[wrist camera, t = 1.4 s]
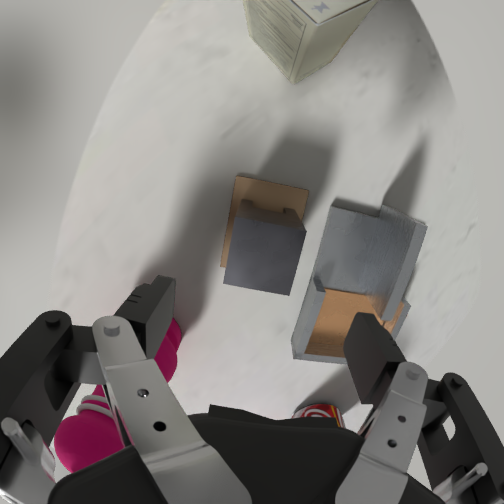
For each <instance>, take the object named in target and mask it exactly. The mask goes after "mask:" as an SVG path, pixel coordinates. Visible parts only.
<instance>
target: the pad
mask: <svg viewBox="0 0 504 504" xmlns="http://www.w3.org/2000/svg"><path fill="white" fill-rule="evenodd" d="M308 193H309V191H308V190H304V189H300V188H295V187H291V186H286V185H281V184H277V183H272V182H267V181H262V180H257V179H252V178H247V177H242V176H236V180H235V185H234V190H233V196H232V201H231V207H230V212H229V218H228V224H227V229H226V235H225V241H224V247H223V252H222V258H221V264H220V267H225V268H226V264H227V259H228V253H229V247H230V242H231V236H232V231H233V225H234V220H235V216H236V213H237V210H238V208H239V205H240V203H241V200H242V199H246V200H251V201H253V203H252V207H256V208H261V209H266V210H271V211H276V212H281V213H283V210H284V207H285V208H290V209H295V211H296V213H297V214H298V216H299V218H300V220H301V222H302V218H303V214H304V210H305V206H306V201H307V197H308Z"/></svg>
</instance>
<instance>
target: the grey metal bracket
mask: <svg viewBox="0 0 504 504" xmlns="http://www.w3.org/2000/svg"><path fill="white" fill-rule="evenodd" d="M427 227H428V226H426V225H424V224H422V223H420V222H419V221H417V220H415V219H413V218H411V217H409V216H407V215H406V214H404V213H402V212H400V211H398V210H396V209H394V208H392V207H389V206H385V205H382V207H381V211H380V215H379V218H378V217H374V216H370V215H366V214H363V213H359V212H355V211H351V210H347V209H343V208H339V207H335V206H330V210H329V214H328V218H327V222H326V226H325V229H324V233H323V237H322V240H321V244H320V248H319V251H318V255H317V258H316V262H315V265H314V268H313V272H312V275H311V279H310V282H309V285H308V288H307V292H306V295H305V298H304V301H303V305H302V308H301V311H300V314H299V317H298V320H297V323H296V326H295V329H294V332H293V335H292V338H291V345H292V352H293V359H299V360H307V361H317V362H326V363H337V364H347V361H346V358H345V355H344V352H343V344H344V340H345V338H346V335H347V333H348V331H349V328H350V326H351V324H352V321H353V319H354V316H355V314H356V313H357V312H364V313H371V314H374V315H375V317H376V318H377V320H378V321H379V323H380V325H382V326H383V327H384V328H385V329H386V330H387V331H389V333H390V334H391V336H392V337H393V340H395V339H396V337H397V335H398V333H399V331H400V328H401V326H402V324H403V322H404V320H405V318H406V316H407V314H408V311H409V309H410V307H411V305H410V304H409V303H408V302H407V301H406V299H405V298H404V297H403V294H404V291H405V289H406V287H407V284H408V282H409V279H410V276H411V274H412V271H413V269H414V266H415V263H416V260H417V258H418V255H419V252H420V249H421V246H422V243H423V240H424V237H425V234H426V231H427Z"/></svg>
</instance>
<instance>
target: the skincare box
mask: <svg viewBox="0 0 504 504" xmlns="http://www.w3.org/2000/svg"><path fill="white" fill-rule="evenodd" d="M377 1H378V0H243V4H244V9H245V15H246V20H247V25H248V31H249V36H250V37H251V38H252V39H253V41H254V42H255V43H256V44H257V45H258V46H259V47H260V48H261V49H262V50H263V51H264V53H265V54H266V55H267V56H268V57H269V58H270V59H271V60H272V61H273V63H274V64H275V65H276V66H277V67H278V68H279V69H280V70H281V72H282V73H283V74H284V75H285V76H286V77H287V78H288V79H289V81H290V82H291V83H292V84H296V83H297V82H299V81H301V80H302V79H304V78H306V77H307V76H309V75H311V74H312V73H314V72H316V71H317V70H319V69H321V68H322V67H324V66H325V65H327V64H328V63H330V62H331V61H332V60H333V59H334V57H335V56H336V55H337V53H338V52H339V51H340V49H341V48H342V47H343V45H344V44H345V43H346V42H347V40H348V39H349V38H350V36H351V35H352V34H353V32H354V31H355V30H356V28H357V27H358V26H359V24H360V23H361V22H362V21H363V19H364V18H365V17H366V15H367V14H368V13H369V11H370V10H371V9H372V7H373V6H374V5H375V4H376V2H377Z"/></svg>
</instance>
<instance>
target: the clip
mask: <svg viewBox="0 0 504 504" xmlns="http://www.w3.org/2000/svg"><path fill="white" fill-rule="evenodd" d="M252 203H253V201H251V200H246V199H242V200H241V203H240V205H239V208H238V210H237V213H236V216H235V220H234V225H233V231H232V236H231V242H230V247H229V253H228V259H227V264H226V270H225V276H224V282H223V284H228V285H233V286H238V287H244V288H249V289H254V290H260V291H265V292H271V293H276V294H282V295H288V296H289V295H290V291H291V288H292V284H293V280H294V277H295V273H296V270H297V266H298V262H299V259H300V255H301V251H302V247H303V243H304V240H305V236H306V232H307V231H306V229H305V227H304V225H303V224H302V222H301V220H300V218H299V216H298V214H297V213H296V211H295V209H290V208H285V207H284V210H283V213H281V212H276V211H271V210H266V209H261V208H256V207H252Z"/></svg>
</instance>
